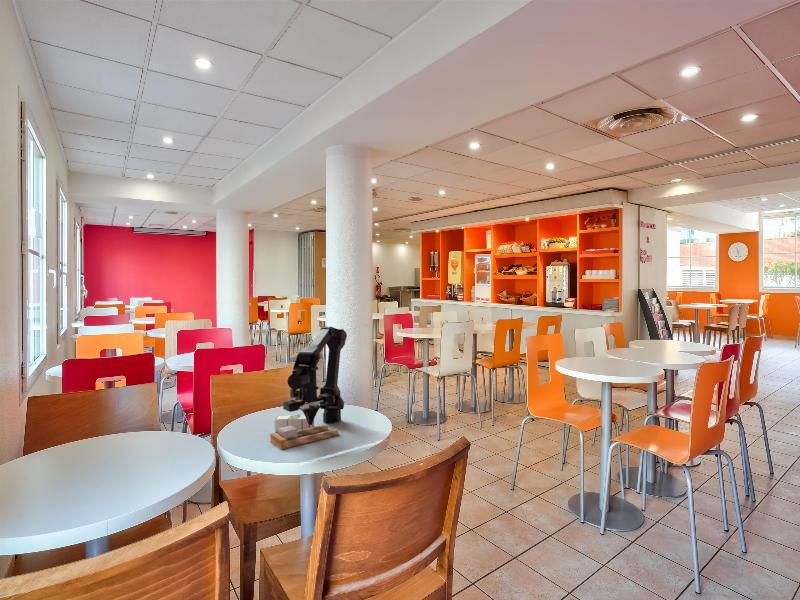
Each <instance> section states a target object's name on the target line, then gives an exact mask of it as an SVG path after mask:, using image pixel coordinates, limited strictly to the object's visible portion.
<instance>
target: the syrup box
mask: <svg viewBox="0 0 800 600" xmlns="http://www.w3.org/2000/svg"><path fill="white" fill-rule="evenodd" d="M287 426H293V427H295V428H296V429H297V430H302V429H306V428H311V427H315V419H314V420H313V423H312V425H309V424H308V422H307V419H306V417H305V415H304V414H293V415H292V414H289V415H288V414H287V415H285V414H284V415H277V417H276V418H275V419H274V433H278V428H283V427H287Z"/></svg>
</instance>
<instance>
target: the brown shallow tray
mask: <svg viewBox="0 0 800 600" xmlns="http://www.w3.org/2000/svg"><path fill="white" fill-rule="evenodd" d="M269 436H270V437H269V438H270V440H269V443H271V444H273V445H274V446H276V447H277V448H279V449H281V450H282V451H284V450H288V449H291V448H294V447H300V446H304V445H308V444H312V443H316V442H320V441H324V440H328V439H332V438H336V437H340V436H341V435H340V433H339V429H338V428H334V429H329V424H328V423H327V424H326V423H324V424H319V425H316V426H315V425H314V427H311V428H306V429H302V430H297V438H296V439H292V440H287V441H286V439H285V438H283V437H282V436H280V435H278V432H274V433H270V434H269Z"/></svg>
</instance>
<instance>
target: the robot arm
mask: <svg viewBox="0 0 800 600" xmlns="http://www.w3.org/2000/svg"><path fill="white" fill-rule="evenodd" d="M347 338H348V334H347V331H345V330H344V328H336V327H334V326H321V327H320V331H319V332H318V334H317V335H316V336H315V338H314V339H313V340H312V341H311V343H310V344H309V345H308V346H307V345H306V346H305V347H303V348H302V349H301V350H299V352H298V353H297V354H296V359H295V362H294V365H293V368H292V372H291V373H292V374H290V375H288V379H287V385H288V387H289V388H290V391H289V394H290V395H289V396H290V398H291V399H292V400H290V399H289V400H286V401H284V402H283V404H282V406H283V407H282V409H283V410H285V411H287V412H289V413H290V412H291V413H292V412H296V411H299V410H300V411H302V412H303V415H305V417H306V419H307V422H308V424H309V425H312V423H313V420H314V421H315V418H316V415H317V414H318V412H319V410H323V413H322V419H323V420H322V421H323V422H322V423H324V424H328V425H329V424H337V423H339V422H341V421H342V411H341V410H344V407H345V401H344V400H343V397H342V396H341V389H340V388H339V385H338V382H339V369H340V359H341V351H342V349H343V348H344V347H345V345H346V341H347ZM325 346H327V348H328V355H327V356H328V357H327V367H326V376H325V384H324V385H323V387H320V389H319V386H318V383H317V380H318V379H317V370H319V367H318V364H319V362H320V360H321V352H322V351H323V349H324V348H325ZM318 390H319V395H318ZM298 400H299V401H298Z"/></svg>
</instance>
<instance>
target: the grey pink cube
mask: <svg viewBox="0 0 800 600" xmlns="http://www.w3.org/2000/svg"><path fill="white" fill-rule="evenodd" d="M277 434H278V435H280V436H282V437H283V438H285V439H286V441H287V440H292V439H296V438H298V437H297V429H296V428H295V427H293V426H287V427H283V428H278V432H277Z"/></svg>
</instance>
